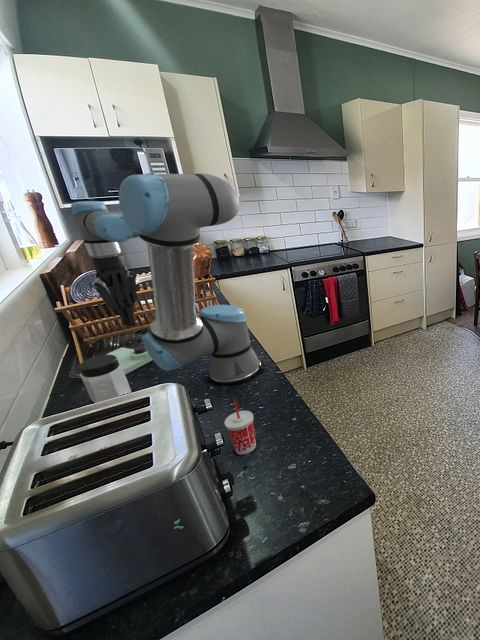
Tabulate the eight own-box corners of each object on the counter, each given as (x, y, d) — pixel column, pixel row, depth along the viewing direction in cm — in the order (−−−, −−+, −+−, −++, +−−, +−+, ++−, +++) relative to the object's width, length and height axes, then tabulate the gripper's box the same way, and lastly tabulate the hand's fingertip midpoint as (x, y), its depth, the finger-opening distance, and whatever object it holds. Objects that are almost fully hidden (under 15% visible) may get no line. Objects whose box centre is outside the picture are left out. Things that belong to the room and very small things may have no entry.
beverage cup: (250, 435, 90) (240, 390, 84) (264, 445, 87) (254, 399, 81) (227, 449, 85) (214, 403, 79) (241, 460, 82) (229, 414, 76)
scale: (158, 357, 122) (155, 348, 121) (122, 376, 111) (119, 366, 110) (124, 351, 125) (121, 342, 124) (86, 369, 114) (82, 360, 113)
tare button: (148, 350, 120) (146, 346, 119) (140, 355, 118) (138, 350, 117) (141, 349, 121) (139, 345, 120) (133, 353, 118) (131, 349, 117)
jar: (89, 409, 97) (72, 373, 92) (94, 394, 103) (79, 359, 98) (130, 399, 101) (116, 364, 96) (132, 385, 107) (119, 351, 102)
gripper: (118, 249, 112) (140, 315, 121) (72, 259, 100) (100, 331, 110) (136, 251, 110) (158, 318, 120) (92, 261, 99) (119, 334, 108)
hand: (130, 324), depth 115 cm, fingers closed
